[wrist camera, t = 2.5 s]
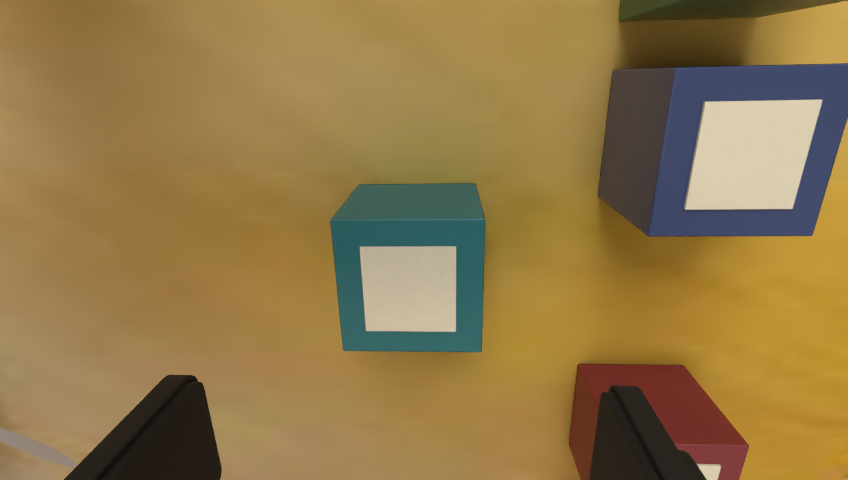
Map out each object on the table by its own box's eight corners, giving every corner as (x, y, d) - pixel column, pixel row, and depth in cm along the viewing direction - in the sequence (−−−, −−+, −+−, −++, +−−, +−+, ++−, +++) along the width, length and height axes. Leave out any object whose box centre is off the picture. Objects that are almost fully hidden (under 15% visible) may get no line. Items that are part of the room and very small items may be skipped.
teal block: (366, 289, 22) (342, 353, 17) (358, 184, 21) (328, 220, 15) (473, 289, 22) (482, 354, 17) (475, 182, 20) (485, 219, 15)
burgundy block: (577, 363, 23) (615, 445, 18) (683, 364, 23) (752, 448, 18) (568, 443, 25) (599, 538, 20) (666, 445, 25) (723, 542, 20)
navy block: (612, 69, 18) (677, 67, 13) (747, 66, 18) (869, 62, 13) (597, 196, 20) (649, 238, 15) (720, 195, 20) (815, 237, 15)
